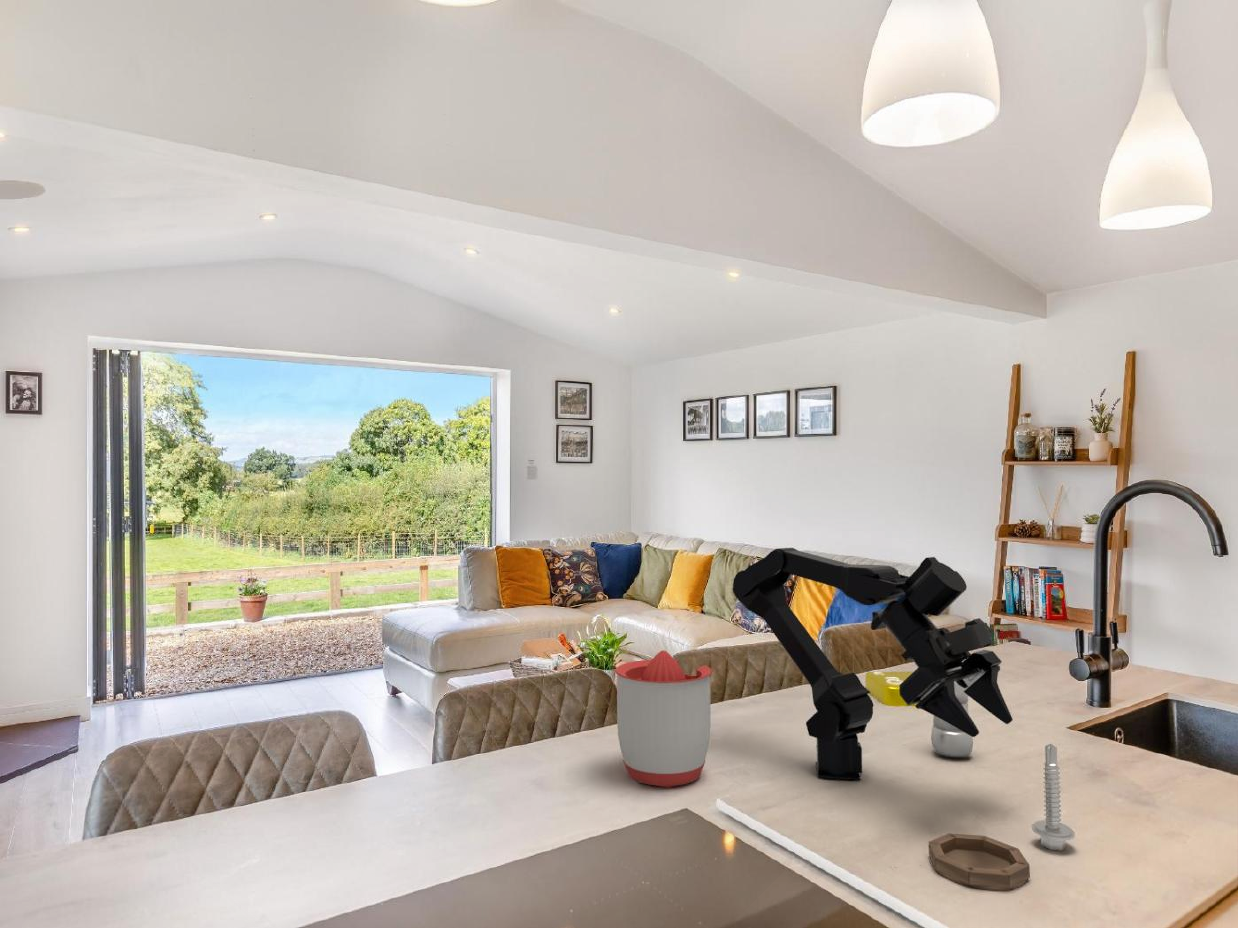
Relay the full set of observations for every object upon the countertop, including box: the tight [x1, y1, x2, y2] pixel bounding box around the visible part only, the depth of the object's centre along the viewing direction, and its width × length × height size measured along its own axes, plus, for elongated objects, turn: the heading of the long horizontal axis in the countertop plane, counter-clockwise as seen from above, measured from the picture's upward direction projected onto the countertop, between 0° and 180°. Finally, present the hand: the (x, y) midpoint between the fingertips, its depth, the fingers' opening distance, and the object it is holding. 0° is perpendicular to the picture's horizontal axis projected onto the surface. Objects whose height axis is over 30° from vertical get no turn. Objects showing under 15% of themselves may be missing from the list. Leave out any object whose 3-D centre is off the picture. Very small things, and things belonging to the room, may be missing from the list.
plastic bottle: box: [930, 660, 974, 758], centre depth 135 cm, size 6×7×20 cm
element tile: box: [864, 670, 918, 707], centre depth 174 cm, size 15×15×5 cm
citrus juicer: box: [614, 650, 713, 789], centre depth 127 cm, size 16×17×20 cm
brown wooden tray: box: [928, 832, 1031, 892], centre depth 95 cm, size 11×11×2 cm
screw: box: [1031, 743, 1076, 852], centre depth 101 cm, size 13×5×5 cm
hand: (993, 728), depth 107 cm, fingers open, 9 cm apart
